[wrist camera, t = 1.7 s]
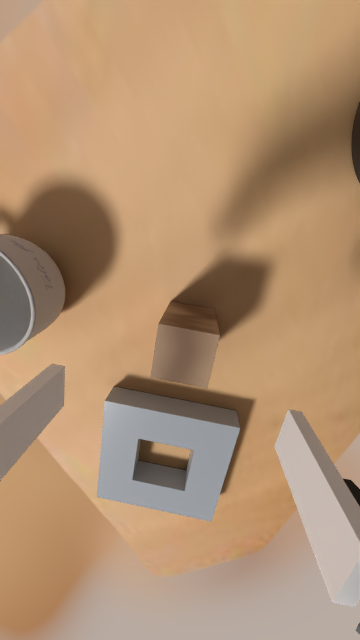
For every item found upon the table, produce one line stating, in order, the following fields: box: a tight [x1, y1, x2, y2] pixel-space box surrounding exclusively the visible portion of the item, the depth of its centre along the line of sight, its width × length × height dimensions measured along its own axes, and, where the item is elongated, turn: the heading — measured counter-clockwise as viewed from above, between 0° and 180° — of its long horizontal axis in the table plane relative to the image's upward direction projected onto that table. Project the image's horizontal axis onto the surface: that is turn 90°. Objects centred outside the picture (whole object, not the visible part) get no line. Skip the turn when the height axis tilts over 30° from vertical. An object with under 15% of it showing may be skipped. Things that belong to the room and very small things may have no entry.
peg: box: [151, 301, 220, 388], centre depth 24 cm, size 5×5×8 cm
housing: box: [97, 386, 240, 521], centre depth 32 cm, size 16×16×3 cm
